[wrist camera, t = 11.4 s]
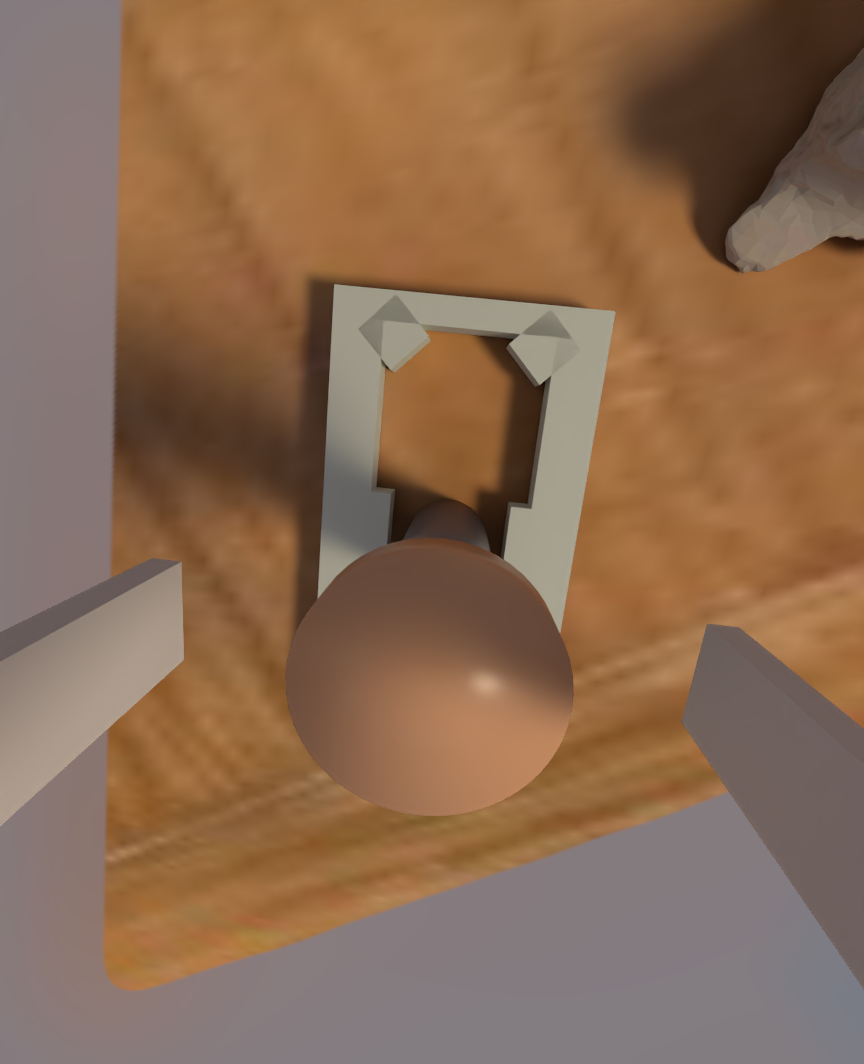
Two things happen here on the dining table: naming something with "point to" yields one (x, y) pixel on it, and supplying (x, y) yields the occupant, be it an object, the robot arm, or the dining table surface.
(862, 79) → the decorative stone
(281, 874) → the dining table surface
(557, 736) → the peg
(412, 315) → the keyhole board
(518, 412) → the dining table surface
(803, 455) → the dining table surface
